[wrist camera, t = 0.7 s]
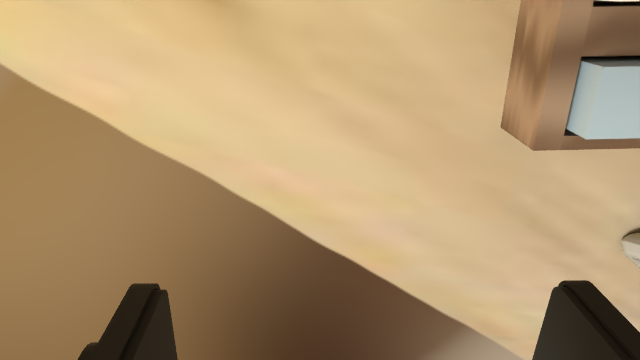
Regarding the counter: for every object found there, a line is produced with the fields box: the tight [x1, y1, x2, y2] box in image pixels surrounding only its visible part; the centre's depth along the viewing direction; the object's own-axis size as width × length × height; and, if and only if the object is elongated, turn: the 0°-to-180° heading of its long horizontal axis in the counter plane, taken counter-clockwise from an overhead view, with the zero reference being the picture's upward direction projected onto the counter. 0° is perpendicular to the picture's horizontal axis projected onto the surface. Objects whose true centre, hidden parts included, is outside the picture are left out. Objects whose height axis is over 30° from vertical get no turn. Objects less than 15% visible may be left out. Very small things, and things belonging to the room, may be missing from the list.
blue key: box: [566, 57, 640, 139], centre depth 32 cm, size 5×5×4 cm
